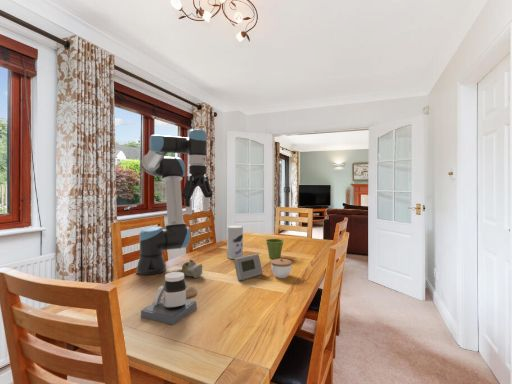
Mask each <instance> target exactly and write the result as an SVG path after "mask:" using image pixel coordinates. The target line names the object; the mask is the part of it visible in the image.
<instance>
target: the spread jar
mask: <svg viewBox="0 0 512 384" xmlns="http://www.w3.org/2000/svg"><path fill="white" fill-rule="evenodd" d="M186 287H187V284H186V281H185V275H184V273H182V272H177V271H172V272H168V273H166V274H165V275H164V282H163V285H160V286H159V287H158V289H157V290H156V293H155V295H154V297H153V301H152V304H153V305H156V306H157V305H158V304H159V302H160V300H161V299H162V298H164V307H165V308H166V309H168V310H177V309H181V308H182V307H184V306H185V304H186Z"/></svg>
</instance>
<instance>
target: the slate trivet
mask: <svg viewBox="0 0 512 384" xmlns="http://www.w3.org/2000/svg"><path fill="white" fill-rule="evenodd" d="M195 309H197V301H196V300H191V299H188V298H187V299H186V304H185V306H184V307H182V308H181V309H177V310H168V309H166V308H165V307H164V297H162V298H161V300H160V302H159V304H158V305H157V306H156V305H153V303H151V304H150V305H148V306H146V307H144V308H142V309H141V310H140V317H141V318H142V319H147V320H150V321H154V322H159V323H164V324H166V325H170V326H174V325H175V324H177V323H178V322H179V321H180V320H182V319H184V318H185V317H187V315H189V314H190V313H192V311H194V310H195Z"/></svg>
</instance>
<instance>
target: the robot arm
mask: <svg viewBox="0 0 512 384" xmlns="http://www.w3.org/2000/svg"><path fill="white" fill-rule="evenodd" d="M207 140H208V139H207V131H205V130H203V129H191V130H189V132H188V137H184V136H183V137H182V136H174V135H173V136H171V135H164V134H163V135H162V134H151V135H150V136H149V141H148V145H149V150H148V152H147V153H146V154H144V155H143V157H142V158H141V160H140V166H141V169H142V170H143V171H144V172H145V173H147V174H148V175H150V176H153V177H162V178H161V180H162V181H163V182H164V187H165V199H166V200H165V201H166V214H167V222H166V225H165V226H164V228H163V227H162V226H152V227H146V228H144V229H142V230H141V231H140V232H139V239H138V240H139V260H138V262H137V266H136V269H135V270H136V272H135V273H137V274H138V275H142V276H151V275H157V274H158V275H159V274H161V273H164V272H165V271H166V270H167V265H166V262H165V259H164V255H163V251H168V250H170V251H171V250H177V249H184V248H187V247H188V246H189V244H190V242H191V241H190V240H191V230H190V229H191V228H190V227H189V226H187V223H186V222H185V221H184V215H183V204H182V203H183V202H182V199H184V202H185V204H184V205H185V215H193V198H192V197H193V195H194V192H195V190H196V188H198V187H199V189H200V190H201V193H202V194H203V197H202V202H203V205H202V208H203V209H202V211H203V212H210V198H212V195H213V193H212V189H211V185H210V182H209V176H207V175H206V174H207ZM169 153H171V154H173V153H174V154H185V155H188V164H189V166H188V167H189V168H188V171H189V175H186V164H185V162H184V160H183V159H182V158H181V157H176V156H167V154H169ZM185 175H186V176H185ZM183 177H185V178H186V180H185V183H184V186H183V190H182V189H181V181H182V180H183Z"/></svg>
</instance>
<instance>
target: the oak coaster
mask: <svg viewBox="0 0 512 384" xmlns="http://www.w3.org/2000/svg"><path fill="white" fill-rule="evenodd" d="M197 294H198V290H197V289H196V288H194V287H187V286H186V299H187V300H188V299H191V298H193V297H195V296H196V295H197Z"/></svg>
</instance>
